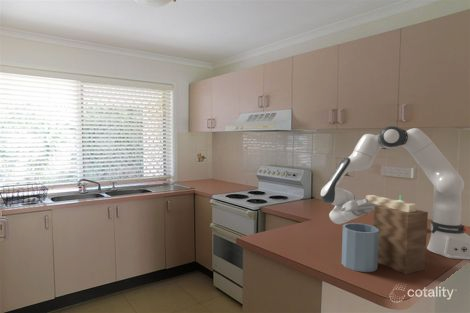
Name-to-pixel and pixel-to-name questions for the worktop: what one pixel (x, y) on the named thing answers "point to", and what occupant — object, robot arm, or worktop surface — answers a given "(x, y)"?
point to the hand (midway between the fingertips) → (374, 199)
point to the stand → (401, 238)
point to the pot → (360, 247)
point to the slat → (391, 203)
